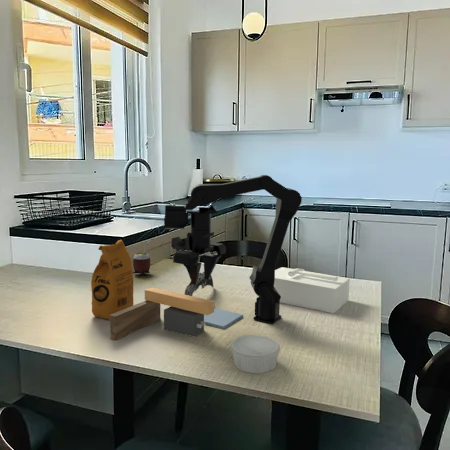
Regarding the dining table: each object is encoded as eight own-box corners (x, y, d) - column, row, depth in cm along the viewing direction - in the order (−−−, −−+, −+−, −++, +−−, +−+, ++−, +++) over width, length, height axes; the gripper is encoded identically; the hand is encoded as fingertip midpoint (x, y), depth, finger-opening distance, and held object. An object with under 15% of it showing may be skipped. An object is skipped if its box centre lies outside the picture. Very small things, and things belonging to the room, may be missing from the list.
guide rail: (160, 318, 128) (160, 297, 127) (115, 340, 112) (115, 316, 111) (155, 317, 129) (155, 296, 128) (110, 338, 114) (109, 314, 113)
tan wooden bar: (214, 311, 115) (214, 301, 114) (207, 315, 112) (207, 304, 112) (151, 297, 126) (151, 287, 126) (144, 299, 124) (144, 289, 123)
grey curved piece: (211, 288, 159) (212, 261, 157) (215, 288, 158) (216, 262, 157) (181, 314, 132) (181, 283, 131) (186, 315, 132) (186, 283, 130)
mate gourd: (134, 270, 180) (133, 235, 178) (153, 270, 181) (152, 235, 179) (132, 275, 173) (131, 239, 171) (152, 275, 174) (151, 239, 172)
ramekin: (223, 372, 97) (224, 350, 96) (239, 351, 107) (240, 331, 106) (272, 381, 93) (272, 359, 92) (283, 359, 103) (284, 338, 102)
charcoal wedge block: (207, 332, 119) (207, 311, 118) (197, 338, 114) (198, 317, 113) (174, 324, 124) (174, 304, 123) (164, 330, 120) (163, 309, 119)
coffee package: (86, 316, 128) (83, 245, 125) (112, 304, 140) (111, 237, 136) (113, 322, 125) (111, 248, 121) (138, 308, 136) (137, 240, 132)
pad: (242, 317, 129) (242, 314, 129) (223, 329, 120) (223, 326, 120) (204, 308, 137) (204, 305, 137) (183, 319, 127) (183, 316, 127)
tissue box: (281, 289, 158) (282, 261, 157) (348, 303, 145) (350, 271, 143) (262, 300, 146) (263, 269, 145) (333, 315, 133) (335, 281, 131)
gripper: (196, 222, 134) (196, 270, 136) (157, 230, 118) (158, 285, 121) (227, 225, 128) (226, 276, 131) (189, 234, 112) (190, 292, 115)
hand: (200, 281), depth 124 cm, fingers open, 6 cm apart
